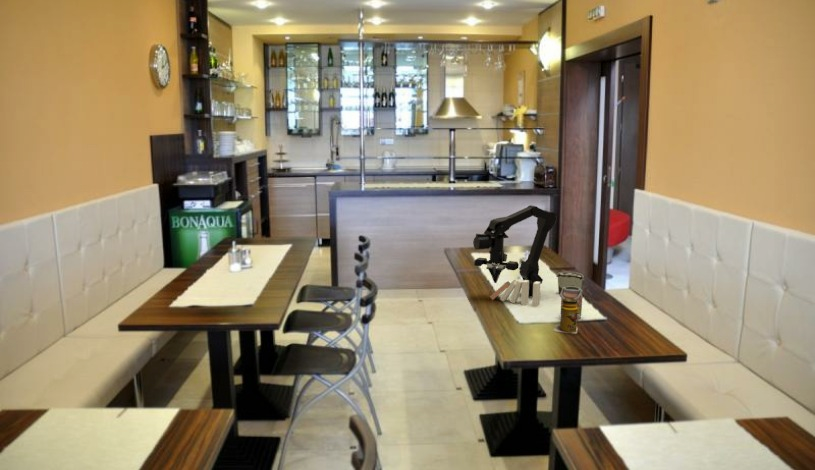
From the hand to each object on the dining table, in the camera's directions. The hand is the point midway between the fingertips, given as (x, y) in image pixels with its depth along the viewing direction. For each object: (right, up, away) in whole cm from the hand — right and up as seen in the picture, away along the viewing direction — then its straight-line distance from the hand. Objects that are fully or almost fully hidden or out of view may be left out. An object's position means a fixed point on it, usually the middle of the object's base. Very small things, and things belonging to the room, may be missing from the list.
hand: (495, 282), depth 273 cm
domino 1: (-1, -7, +2) cm, 7 cm away
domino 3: (+8, -8, -3) cm, 11 cm away
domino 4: (+12, -9, -5) cm, 15 cm away
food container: (+36, -6, +11) cm, 38 cm away
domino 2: (+3, -7, 0) cm, 8 cm away
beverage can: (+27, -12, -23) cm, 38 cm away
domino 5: (+16, -9, -7) cm, 20 cm away
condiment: (+21, -15, -38) cm, 46 cm away
